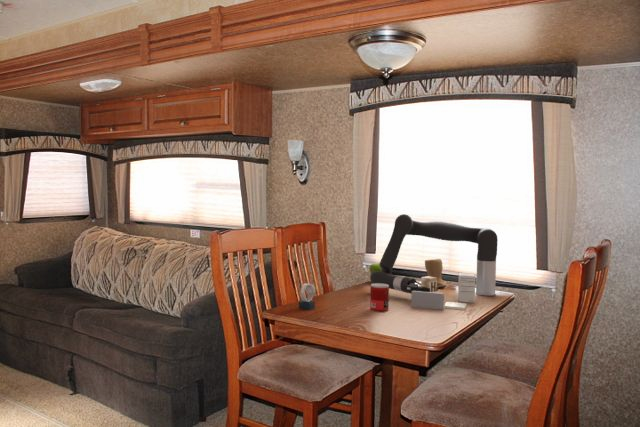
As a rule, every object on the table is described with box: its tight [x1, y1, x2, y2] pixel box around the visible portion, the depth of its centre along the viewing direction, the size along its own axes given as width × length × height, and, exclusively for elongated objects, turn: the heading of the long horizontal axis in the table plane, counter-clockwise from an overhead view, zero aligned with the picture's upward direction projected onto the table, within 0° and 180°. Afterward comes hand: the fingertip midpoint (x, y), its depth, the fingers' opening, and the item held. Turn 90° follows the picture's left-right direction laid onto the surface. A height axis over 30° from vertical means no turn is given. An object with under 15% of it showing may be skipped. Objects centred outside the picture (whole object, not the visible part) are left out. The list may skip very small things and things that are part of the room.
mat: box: [444, 301, 467, 311], centre depth 234 cm, size 9×9×1 cm
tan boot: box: [424, 258, 447, 288], centre depth 285 cm, size 15×12×15 cm
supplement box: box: [457, 272, 476, 303], centre depth 248 cm, size 7×7×13 cm
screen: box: [410, 291, 445, 310], centre depth 232 cm, size 2×14×7 cm, turn 70°
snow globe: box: [298, 282, 316, 311], centre depth 227 cm, size 6×8×11 cm
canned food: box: [369, 283, 390, 313], centre depth 227 cm, size 8×8×11 cm
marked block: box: [420, 275, 437, 293], centre depth 241 cm, size 5×5×12 cm
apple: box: [369, 263, 382, 275], centre depth 293 cm, size 12×12×11 cm
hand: (433, 289), depth 239 cm, fingers closed on marked block, 5 cm apart
